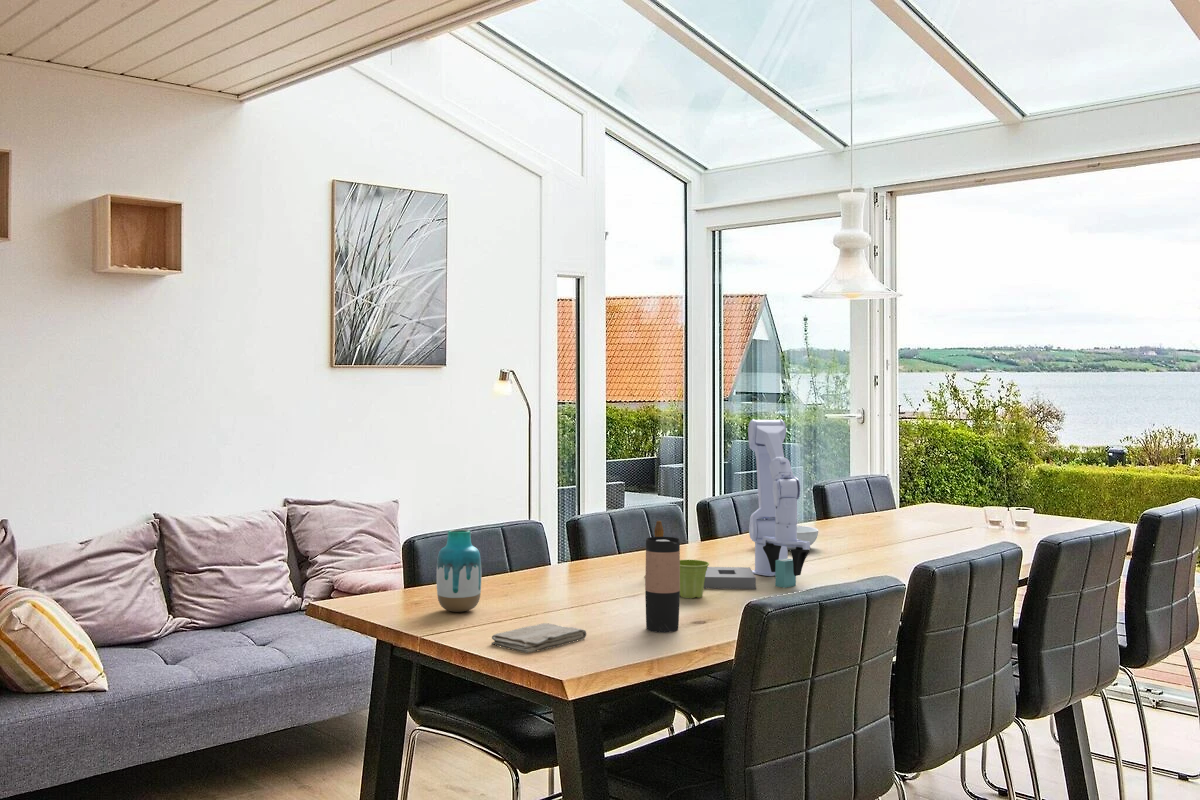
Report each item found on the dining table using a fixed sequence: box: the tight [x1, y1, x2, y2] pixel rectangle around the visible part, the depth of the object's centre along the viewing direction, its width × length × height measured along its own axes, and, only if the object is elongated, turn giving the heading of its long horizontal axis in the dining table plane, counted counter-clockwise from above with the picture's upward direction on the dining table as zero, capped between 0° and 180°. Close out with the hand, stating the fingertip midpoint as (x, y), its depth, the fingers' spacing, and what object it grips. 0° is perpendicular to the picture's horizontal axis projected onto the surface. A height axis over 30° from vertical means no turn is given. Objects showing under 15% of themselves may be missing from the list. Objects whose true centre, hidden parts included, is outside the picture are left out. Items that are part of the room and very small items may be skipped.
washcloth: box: [491, 622, 587, 654], centre depth 230 cm, size 12×18×3 cm, turn 140°
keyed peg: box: [774, 557, 797, 589], centre depth 294 cm, size 5×3×7 cm, turn 132°
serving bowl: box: [787, 524, 819, 550], centre depth 360 cm, size 21×21×7 cm
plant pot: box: [680, 559, 710, 599], centre depth 279 cm, size 9×9×9 cm
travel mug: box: [644, 536, 681, 633], centre depth 242 cm, size 8×8×20 cm
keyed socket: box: [703, 566, 757, 590], centre depth 298 cm, size 16×14×3 cm
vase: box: [436, 529, 482, 613], centre depth 259 cm, size 11×11×19 cm
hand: (785, 573), depth 294 cm, fingers open, 7 cm apart
